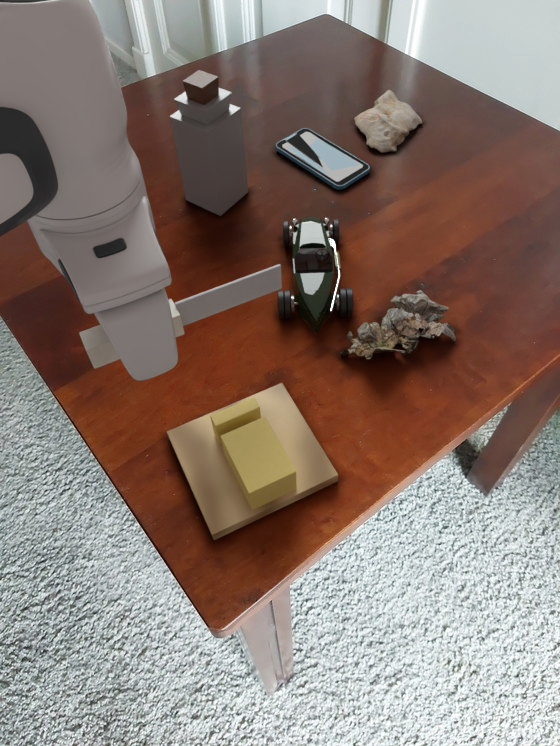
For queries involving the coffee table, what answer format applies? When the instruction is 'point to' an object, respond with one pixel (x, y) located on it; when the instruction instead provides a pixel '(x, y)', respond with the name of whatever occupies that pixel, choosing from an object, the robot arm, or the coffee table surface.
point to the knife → (192, 310)
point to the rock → (401, 326)
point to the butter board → (217, 479)
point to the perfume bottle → (209, 144)
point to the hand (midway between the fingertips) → (132, 332)
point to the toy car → (314, 273)
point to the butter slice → (235, 417)
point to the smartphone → (322, 158)
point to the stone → (387, 122)
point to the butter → (259, 462)
